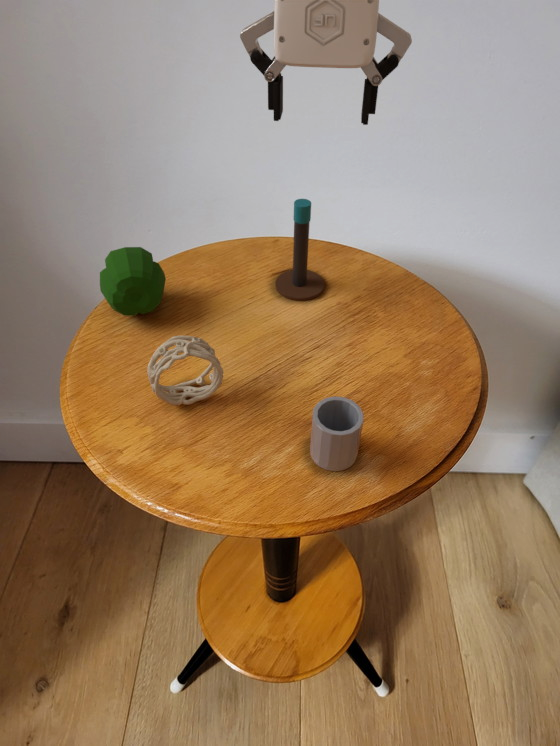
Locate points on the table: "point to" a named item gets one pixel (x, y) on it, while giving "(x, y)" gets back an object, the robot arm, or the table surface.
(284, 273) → the coaster
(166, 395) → the bracelet
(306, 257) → the marker
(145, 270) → the bell pepper
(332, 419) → the pot
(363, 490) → the table surface
